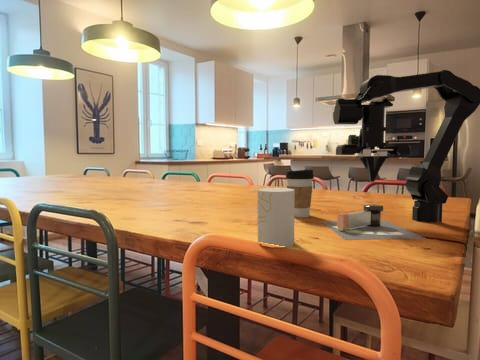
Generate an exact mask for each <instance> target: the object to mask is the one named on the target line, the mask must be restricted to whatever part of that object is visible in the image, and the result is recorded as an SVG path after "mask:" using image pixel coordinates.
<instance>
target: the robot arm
mask: <svg viewBox="0 0 480 360" xmlns="http://www.w3.org/2000/svg"><path fill="white" fill-rule="evenodd" d="M430 88H433V89H435V90H436V92H437V93H438V95H439V97H440V98H441V100H443V101H444V102H445V103H444V106H443V108H444V109H443V110H444V117H443V119H442V122H441V124H440V125H439V128H438V129H437V132H436V134H435V136H434V139H433V140H432V143H431V144H430V147H429V149H428V150H427V153H426V155H425V157H424V159H423V161H422V163H421V164H419V166H411V167H410V169H409V173H408V174H407V176H406V177H404V178H405V180H406V182H405V187H406V190H407V192H408V193H409V194H410V197H411V200H413V201H414V202H413V203H414V204H413V206H412V209H411V210H412V215H411V217H412V218H411V219H412V220H413V221H415V222H424V223H439V222H440V223H443V224H444V222H443V204H446V203H447V201H448V198H449V196H448V194H447V193H446V192H445V191H444V190H443V188H441V187H440V185H441V183H442V167H443V166H444V164H445V161H446V160H447V157H448V154H449V153H450V151H451V150H452V147H453V145H454V142H455V141H456V139H457V136H458V135H459V133H460V131H461V129H462V126H463V124H464V122H465V121H466V120H467V119H468V118H469V117H471V116H472V114H473V113H475V112H476V110H477V109H478V108H479V106H480V87H478V86H477V85H474V84H473V83H471V82H470V81H469V80H467V79H466V78H465V79H464V78H463V77H460V76H457V75H455V74H454V73H453V72H452V71H450V70H447V69H443V70H442V69H441V71H433V72H427V73H418V74H411V75H403V76H394V75H386V74H385V75H384V74H376V75H373V76H371V77H370V78H368V79H366V80H364V81H363V82H362V83H361V84H360V87H359V92H358V93H357V95H356V96H355V97H354V98H353V99H352V98H350V99H348V98H347V99H346V98H337V99H336V100H335V105H334V108H333V113H332V120H333V123H334V125H357V124H358V123H359V121H361V128H360V129H359V135H356V134H349V135H348V137H347V138H348V139H347V144H338V145H337V146H336V147H335V155H336V156H355V154H357V155H356V156H355V158H356V159H359V160H360V161H361V163H362V164H363V166H364V169H365V172H366V174H367V178H368V181H369V182H372V183H373V182H375V181H376V178H377V176H378V174H379V172H380V169H381V168H382V166H383V164H384V163H385V162H386V160H387V159H390V155H399V156H400V155H411V153H412V148H411V145H410V144H409V143H408V144H407V143H405V144H404V143H403V144H402V143H400V144H399V143H396V144H394V143H393V144H388V146H387V142H385V132H387V127H386V126H385V118H386V116H385V114H386V113H385V112H386V111H385V110H386V109H387V108H391V107H393V106H394V103H393V102H391V101H390V100H389V99H388V97H386V96H389V95H393V94H395V93H402V92H411V91H417V90H425V89H430ZM383 97H385V98H383ZM379 98H380V99H381V98H383V99H381V100H376V99H379ZM369 101H370V102H369ZM366 102H369V103H368V104H364V103H366ZM372 154H373V155H372Z"/></svg>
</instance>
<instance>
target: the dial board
mask: <svg viewBox="0 0 480 360" xmlns="http://www.w3.org/2000/svg"><path fill="white" fill-rule="evenodd" d="M337 221H338V220H337ZM337 221H333V220H331V221H321V223H322V224H323V225H325V226H326V227H327V228H328V229H330V230H331V231H332V232H334V233H335V234H337V235H338V236H340V237H341V238H342V239H343V240H345V241H349V240H352V241H354V240H355V241H356V240H361V241H362V240H363V241H364V240H415V239H416V240H417V239H420V240H421V239H422V240H423V239H424V240H425V239H427V238H426V237H425V236H422V235H420V234H417V233H415V232H413V231H410V230H408V229H405V228H404V227H401V226H398V225H396V224H394V223H391V222H389V221H387V220H381V221H380V227H370V226H360V227H354V228H349V229H344V230H343V229H338V228H337Z"/></svg>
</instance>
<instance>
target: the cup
mask: <svg viewBox="0 0 480 360" xmlns="http://www.w3.org/2000/svg"><path fill="white" fill-rule="evenodd" d="M256 192H257V193H256V194H257V196H256V197H257V198H256V199H257V201H256V202H257V243H258V242H263V243H268V244H274V245H279V246H285V247H286V248H290V247H293V246H294V245H295V217H294V189H289V188H287V187H266V188H265V187H263V188H258V189H257V191H256Z"/></svg>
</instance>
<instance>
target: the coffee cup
mask: <svg viewBox="0 0 480 360" xmlns="http://www.w3.org/2000/svg"><path fill="white" fill-rule="evenodd" d="M314 177H315V176H314V169H301V170H297V169H296V170H286V173H285V179H286V183H287V184H286V188H289V189H294V218H308V217H310V214H311V213H310V212H311V205H312V196H313V195H312V194H313V179H315V178H314Z"/></svg>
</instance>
